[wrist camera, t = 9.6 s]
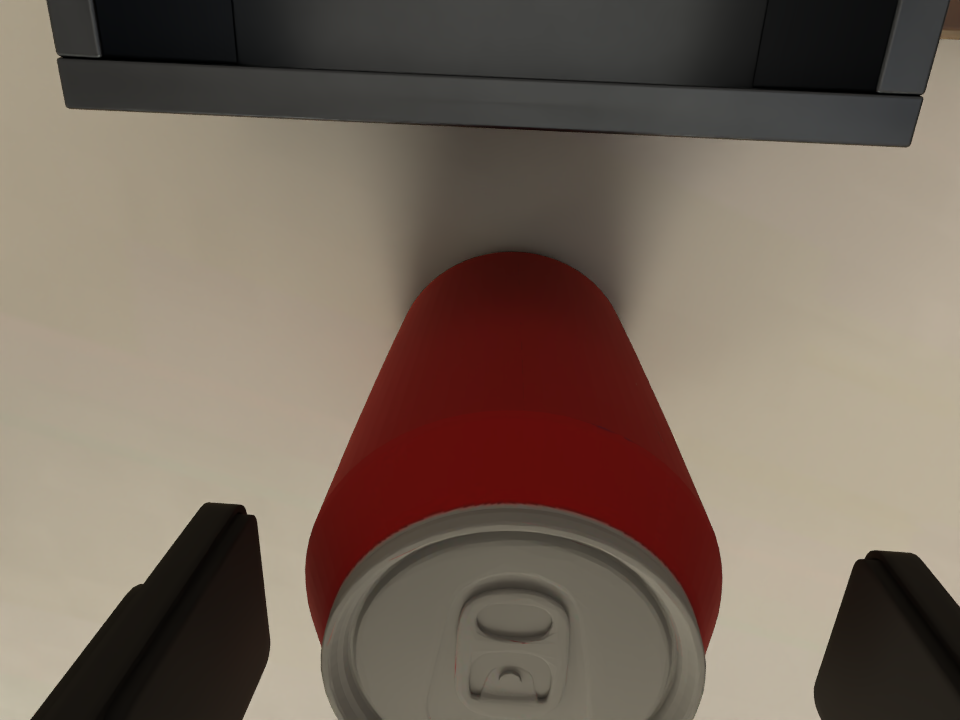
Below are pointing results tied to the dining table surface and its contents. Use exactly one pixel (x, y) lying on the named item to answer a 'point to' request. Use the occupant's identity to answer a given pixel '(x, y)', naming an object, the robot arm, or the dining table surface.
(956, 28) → the panel
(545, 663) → the beverage can
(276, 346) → the dining table surface
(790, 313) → the dining table surface
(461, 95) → the basin
